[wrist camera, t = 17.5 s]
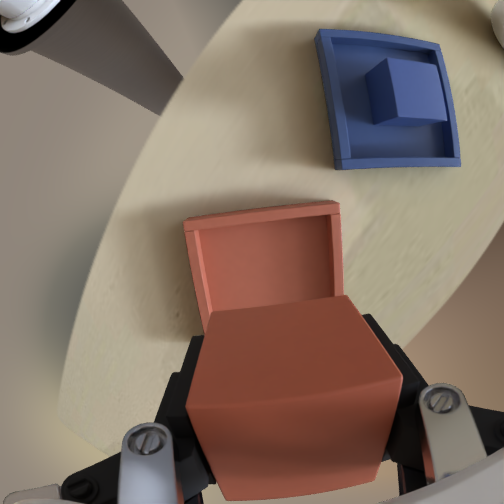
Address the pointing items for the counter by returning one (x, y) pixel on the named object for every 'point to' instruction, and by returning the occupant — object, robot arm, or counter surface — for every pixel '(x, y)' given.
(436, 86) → the blue block
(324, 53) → the blue tray
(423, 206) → the counter surface
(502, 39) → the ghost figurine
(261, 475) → the terracotta block
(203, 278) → the terracotta tray
